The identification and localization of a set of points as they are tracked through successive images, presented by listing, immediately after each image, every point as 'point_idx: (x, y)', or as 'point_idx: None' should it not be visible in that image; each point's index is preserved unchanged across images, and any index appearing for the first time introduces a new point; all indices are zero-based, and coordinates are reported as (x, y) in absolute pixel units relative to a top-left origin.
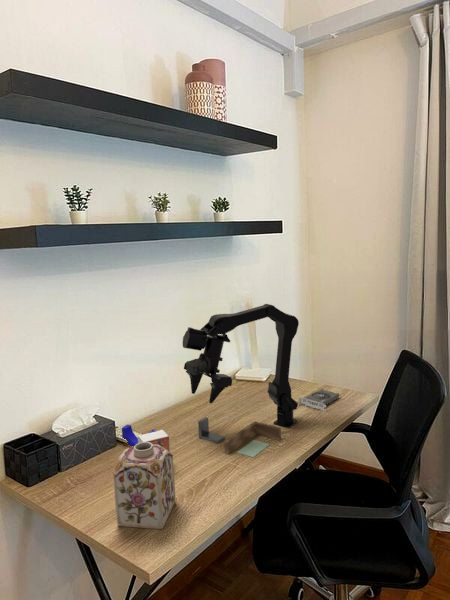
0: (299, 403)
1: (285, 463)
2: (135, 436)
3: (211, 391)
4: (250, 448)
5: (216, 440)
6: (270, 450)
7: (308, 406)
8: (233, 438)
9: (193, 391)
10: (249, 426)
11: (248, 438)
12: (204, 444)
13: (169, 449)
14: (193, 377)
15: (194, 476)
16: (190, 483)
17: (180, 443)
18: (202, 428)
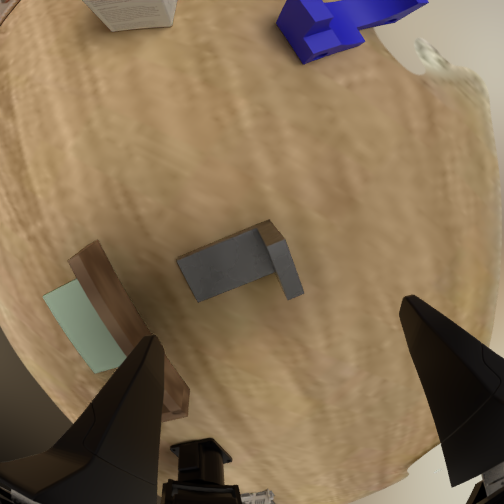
0: (268, 492)
1: (8, 335)
2: (383, 16)
3: (103, 425)
4: (88, 322)
5: (182, 258)
6: (68, 354)
7: (245, 495)
8: (87, 296)
9: (411, 316)
10: None
11: None
12: (202, 209)
13: (85, 2)
14: (496, 413)
15: (36, 89)
16: (20, 71)
17: (272, 132)
18: (264, 244)
